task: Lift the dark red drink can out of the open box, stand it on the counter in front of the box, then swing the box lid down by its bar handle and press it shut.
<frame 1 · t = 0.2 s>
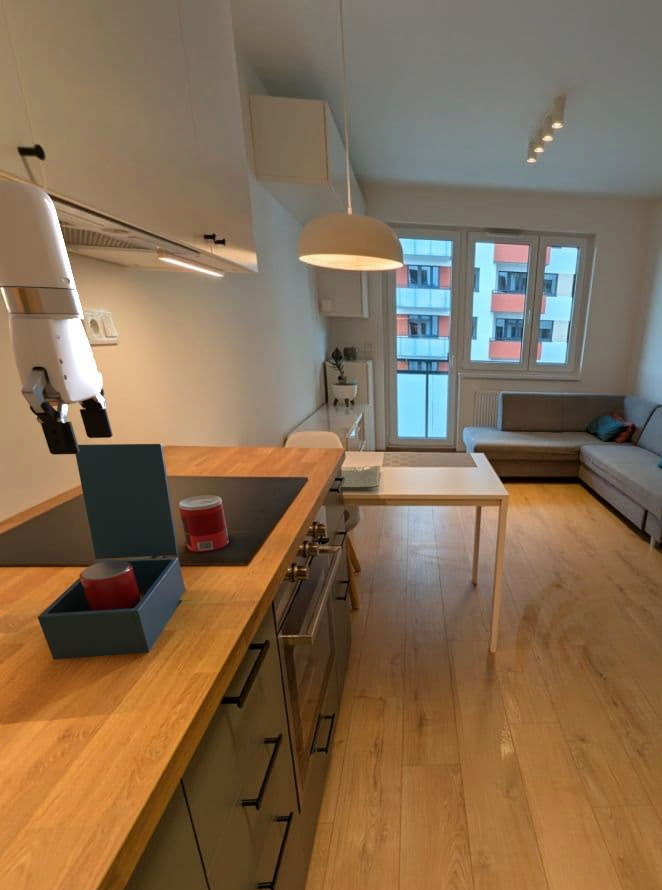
hand: (84, 445, 69), 29 cm above the worktop, tool pointing down, fingers open, 9 cm apart
can: (123, 627, 79), point 1 cm above the worktop, touching open box
open box: (128, 626, 81), on the worktop
lid: (134, 500, 85), point 17 cm above the worktop, hinge at 100.0°
canned food: (209, 550, 108), on the worktop
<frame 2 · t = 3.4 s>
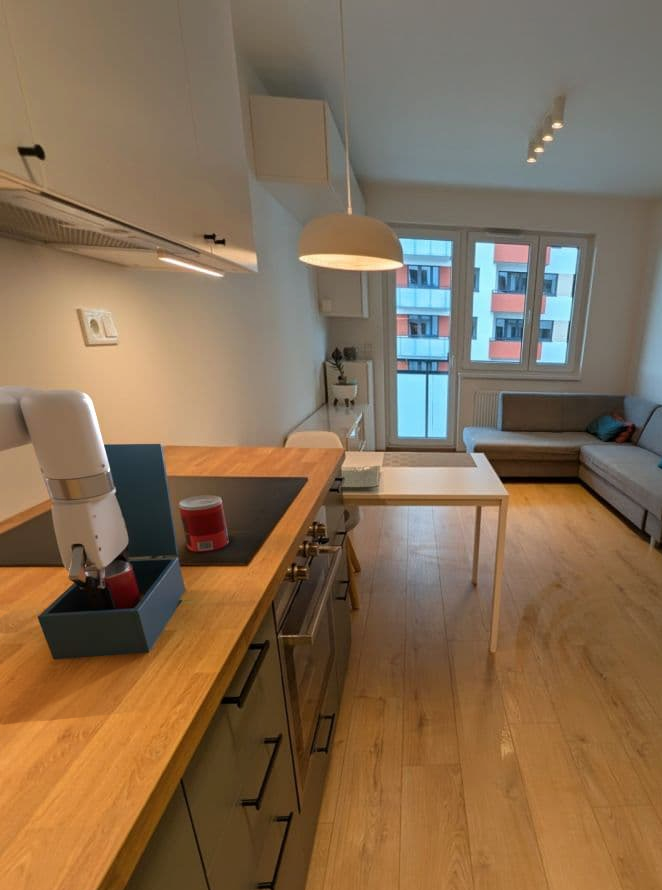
hand: (114, 597, 77), 6 cm above the worktop, tool pointing down, fingers closed on can, 6 cm apart
can: (123, 627, 79), point 1 cm above the worktop, touching open box, gripper
everything else where it was.
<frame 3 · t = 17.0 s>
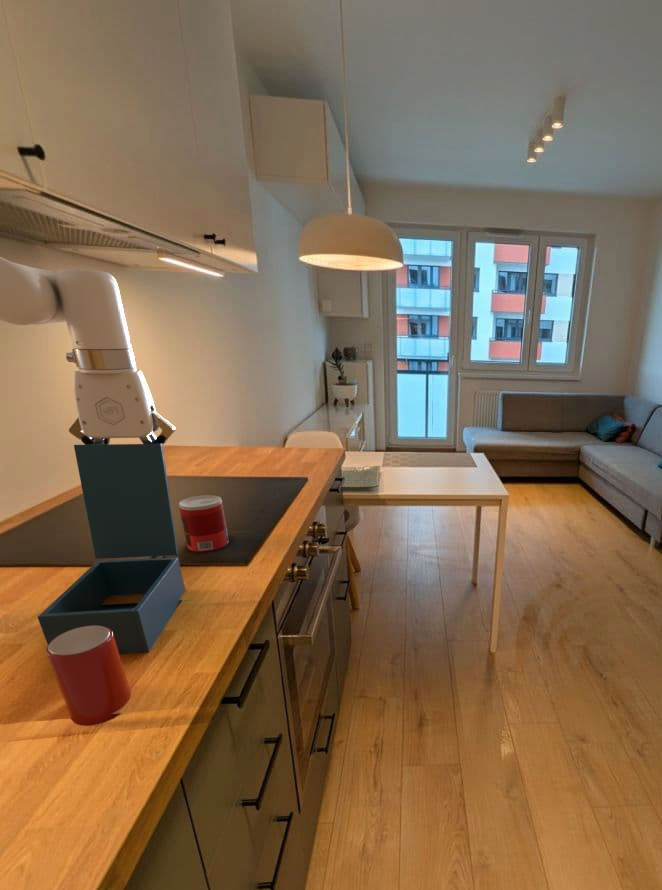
hand: (134, 474, 85), 21 cm above the worktop, tool pointing down, fingers closed on lid, 6 cm apart
can: (102, 706, 64), on the worktop
lid: (134, 500, 85), point 17 cm above the worktop, hinge at 100.0°, touching gripper
everything else where it was.
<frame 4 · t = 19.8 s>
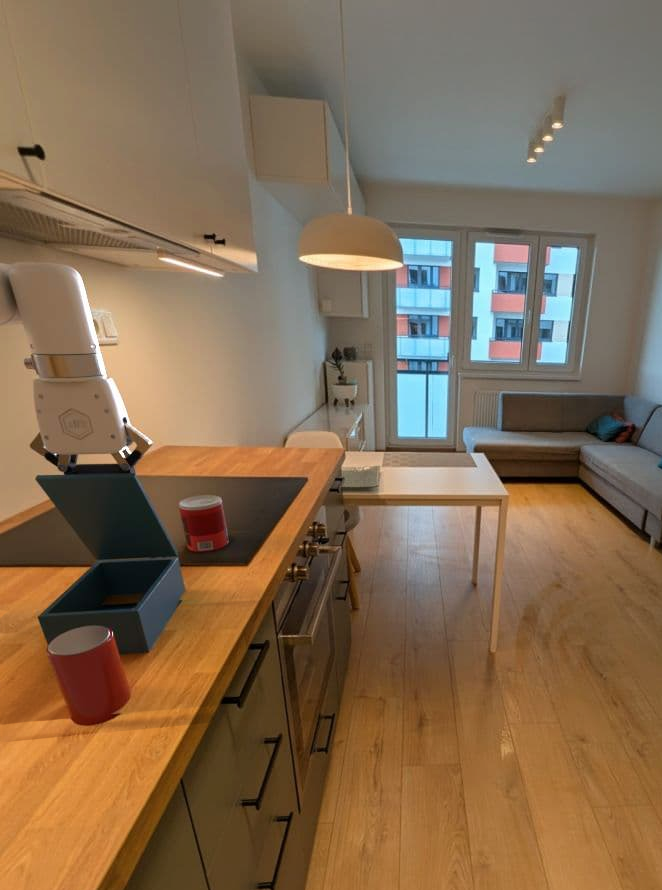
hand: (106, 493, 76), 21 cm above the worktop, tool pointing down, fingers closed on lid, 6 cm apart
lid: (117, 509, 79), point 17 cm above the worktop, hinge at 62.6°, touching gripper
everything else where it was.
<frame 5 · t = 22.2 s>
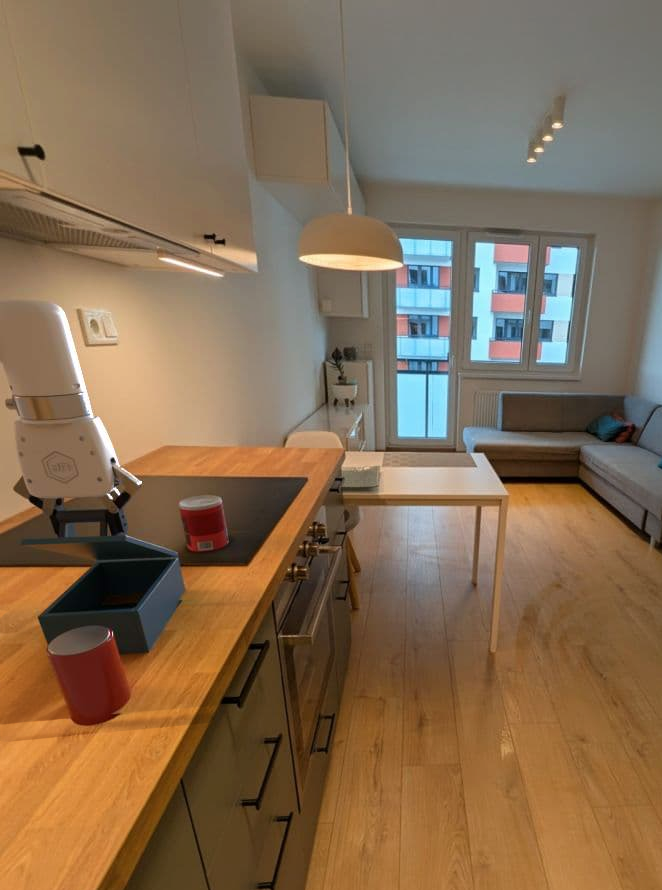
hand: (94, 536, 72), 16 cm above the worktop, tool pointing down, fingers closed on lid, 6 cm apart
lid: (109, 535, 76), point 15 cm above the worktop, hinge at 32.0°, touching gripper
everything else where it was.
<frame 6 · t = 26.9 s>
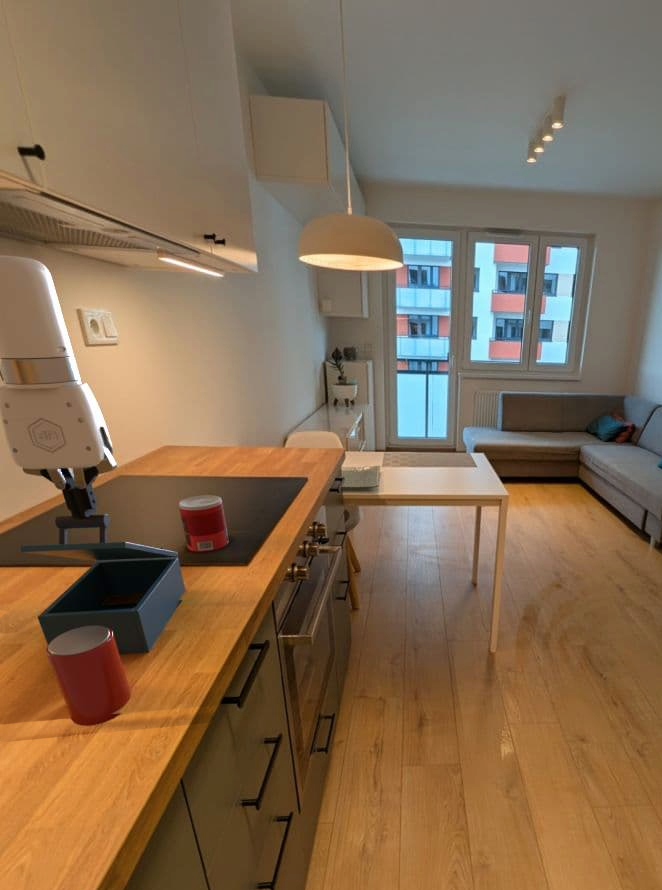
hand: (85, 514, 69), 20 cm above the worktop, tool pointing down, fingers closed
lid: (109, 538, 76), point 15 cm above the worktop, hinge at 29.1°, touching gripper
everything else where it was.
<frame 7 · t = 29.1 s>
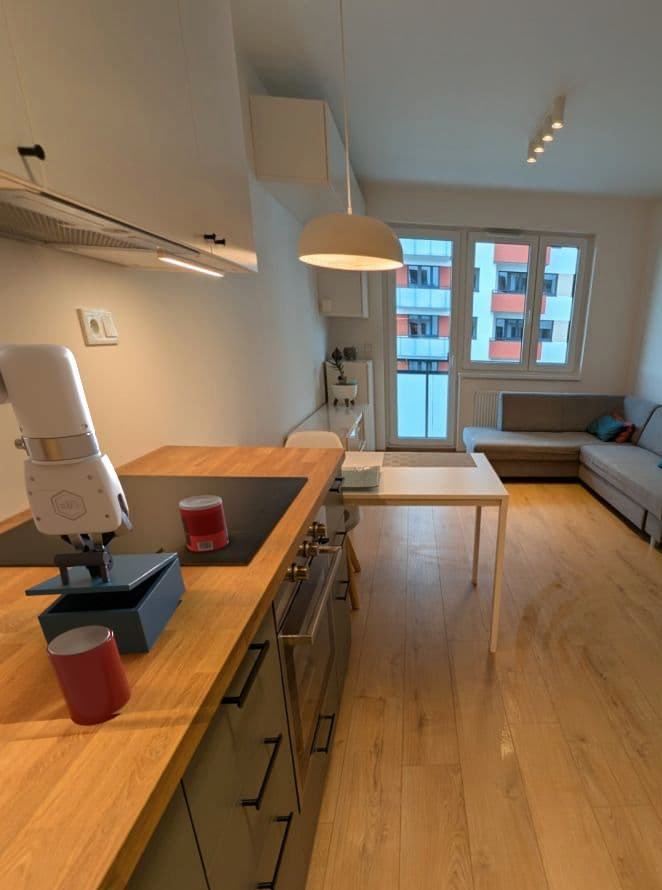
hand: (102, 572, 73), 11 cm above the worktop, tool pointing down, fingers closed
lid: (108, 558, 76), point 12 cm above the worktop, hinge at 10.9°, touching gripper
everything else where it was.
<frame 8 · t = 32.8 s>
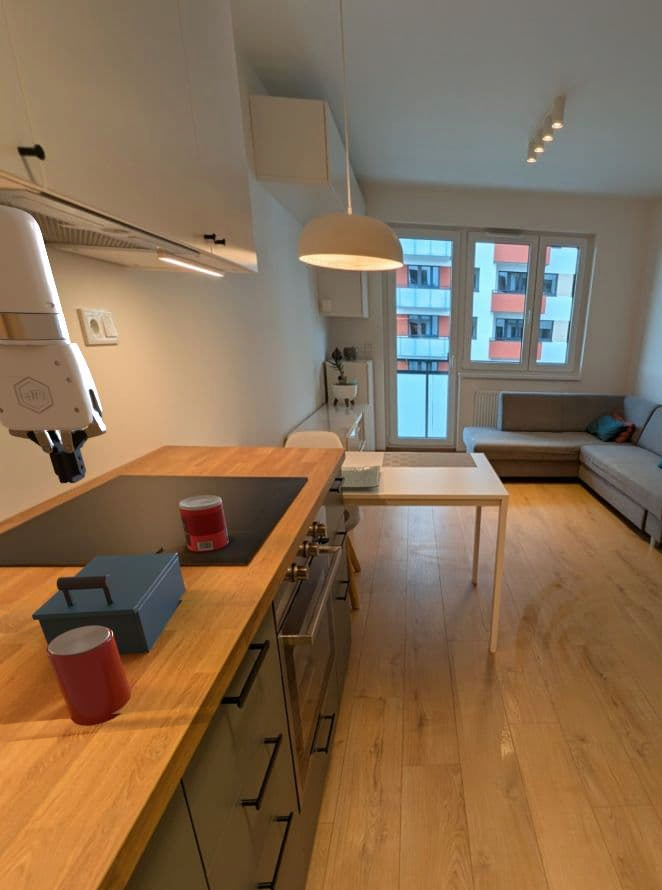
hand: (73, 480, 68), 25 cm above the worktop, tool pointing down, fingers closed
lid: (110, 570, 76), point 10 cm above the worktop, hinge at -0.1°
everything else where it was.
at the end: can inside the target area (0.2 cm from its centre), on the worktop; can tilted 0°; lid at +0° (first picture: +100°) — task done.
